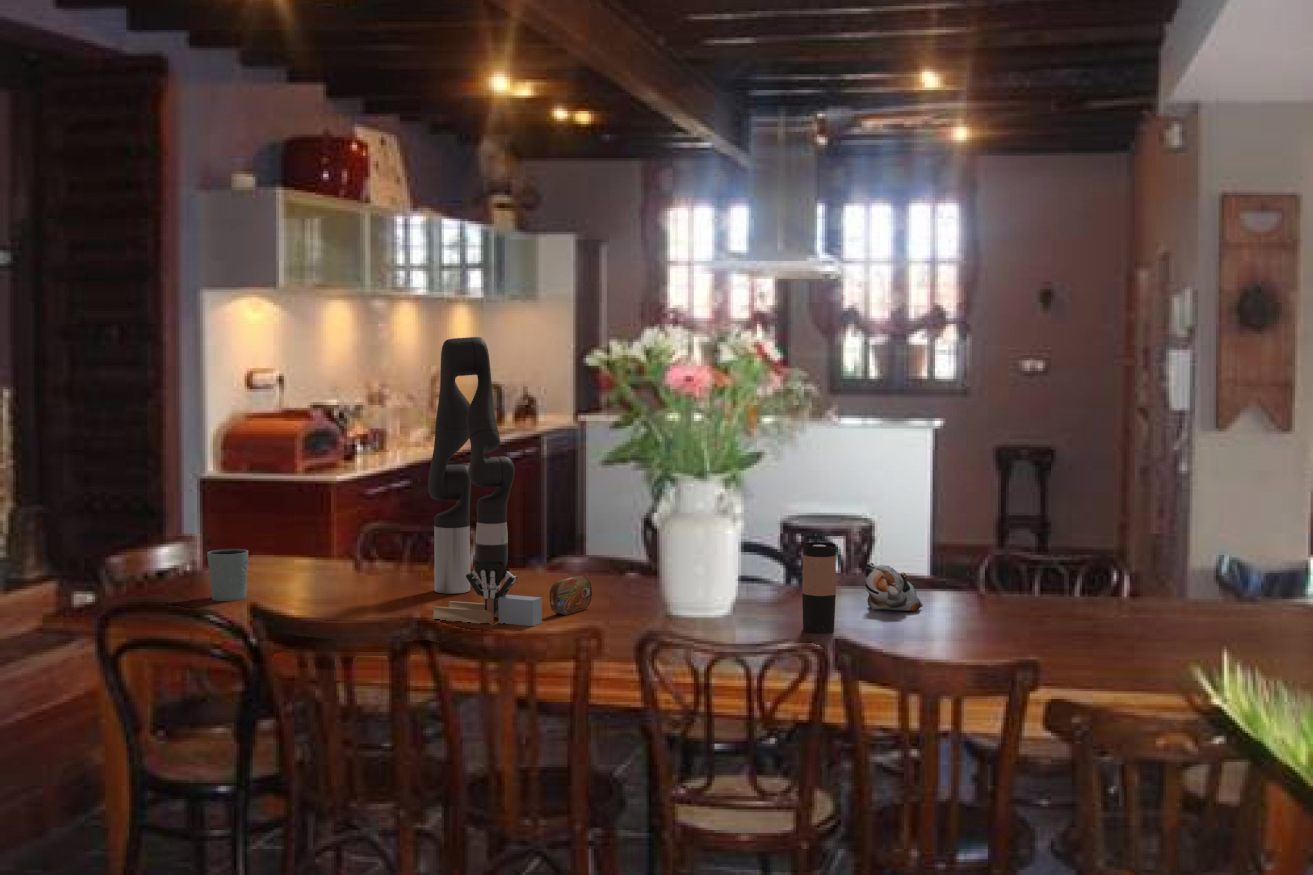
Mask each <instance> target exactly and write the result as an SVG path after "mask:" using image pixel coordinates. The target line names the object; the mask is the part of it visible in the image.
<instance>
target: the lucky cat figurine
mask: <svg viewBox="0 0 1313 875" xmlns="http://www.w3.org/2000/svg"><path fill="white" fill-rule="evenodd" d="M865 566H866V568H865V581H864V582H865V585H864V587H865V590H866V592H867V593H868V596H867V599H866V600H867V605H868V607H869V608H870V609H871V610H873V611H879V610H887V611H904V612H912V613H915V612H918V611H919V609H920V608H922V607H924V606H923V605H924V604H923V603H922V601H921V599H920V598H919V597H918V595H917V592H916V589H915V587H914V585H913V584H912V583H910V582H909V581H907V578H908V577H907V576H908V575H907V574H906V573H905V572H901V573H899V572H898V571H897V570H896V569H894V567H891V566H890V565H885V564H884V565H883V564H882V565H881V564H880V565H879V564H878V565H875V564H874V563H873V562H868V563H866V564H865Z"/></svg>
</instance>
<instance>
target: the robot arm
mask: <svg viewBox="0 0 1313 875" xmlns="http://www.w3.org/2000/svg"><path fill="white" fill-rule="evenodd" d="M490 361H491V360H490V354H489V349H488V346H487V342H486V341H485V339H484V338H482V337H480V336H471V337H470V336H469V337H456V338H449V339H446V340H444V342H443V344H442V346H441V352H440V378H439V379H440V380H439V386H440V387H439V394H438V404H437V411H436V418H435V428H434V443H433V444H434V445H433V452H432V457H431V462H430V467H429V473H428V480H427V488H428V489H427V490H428V494H429V496H430V498H431V499H433V500H436V501H456V503H455V504H454V505H453V506H452V507H451V508H448V509H447V510H445V511H442V512H440V513H437V514H436V515H435V516H434V518H433V519H434V520H433V523H434V524H433V530H434V531H433V532H434V535H433V536H434V540H433V541H434V546H433V547H434V549H433V550H434V552H433V554H434V593H435V592H436V593H439V594H450V595H451V594H464V593H467V592H468V593H469V592H470V591H471V587H472V588H473V590H474V592H475V593H476V594H477V595H478V596H481V597H483V598H484V603H485V610H487V598H494V614H496V612H497V611H498V605H499V597H501V596H504V595H506V593H509V591H510V590H511V588H512V587H513V586H514V584H515V583H516V582H517V581H518V576H517V575H513V574H512V573H511V572H510V568H509V565H508V559H509V558H508V554H509V550H508V549H509V548H508V544H509V542H508V540H509V538H508V536H509V535H508V534H509V531H508V523H507V522H508V517H507V516H508V502H509V497H510V494H511V493H510V492H511V489H512V485H513V483H514V479H515V472H516V471H515V470H516V469H515V465H514V462H513V460H511V458H510V457H508V456H503V455H502V456H485V454H488V453H492V452H494V451H496V450H497V449H499V447H500V445H501V437H500V433H499V429H498V423H497V420H496V415H495V408H494V397H493V396H494V395H493V382H492V370H491V362H490ZM465 376H477V387H476V390H475V393H474V396H473V398H472V400H471V402H470V401H469V400H468V399H467V398H466V396H465V395H464V394H463V393H462V391H461V390H460V388H459V387H458V384H457V382H456V378H458V377H465ZM468 440H469V442H470V460H469V461H470V462H469V466H468V465H467V464H448V463H449V461H450V460H451V458H453V457H454V456H455V454H457V453H458V452H459V451H460V450H461V449H462V448H463V446H464V445H466V443H467V442H468ZM471 484H473V485H474V486H475V487H478V488H484V487H485V488H491V487H493V488H494V487H495V489H494V491H493V492H492V493H491V494H489V495H486V496H485V495H484V496H483V497H479V499H478V500H477V503H476V528H475V537H474V538H475V561H476V562H475V565H474V568H473V570H472V571H471V537H470V536H471V533H470V532H471V527H470V526H471V522H470V521H471V520H470V519H471V517H470V516H471V507H470V506H471V490H472V485H471ZM503 581H505V582H504V583H503ZM502 583H503V585H502Z"/></svg>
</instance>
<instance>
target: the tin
mask: <svg viewBox="0 0 1313 875" xmlns="http://www.w3.org/2000/svg"><path fill="white" fill-rule="evenodd" d="M592 588H593V587H592V584H591V581H590V579H589V578H588V577H586V576H583V575H581V576H576V575H575V576H571V577H568V578H565V579H560V580H557V581H555V582H554V583H553V584H552V585H551V587H550V590H549V606H550V608H551V611H552V612H553V613H554V614H556V615H563V616H568V615H571V614H574V613H578V612H581V611H585V610H586V609H588V608H589V606H590V605H591V604H590V603H591V601H592V598H593V589H592Z"/></svg>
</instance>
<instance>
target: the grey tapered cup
mask: <svg viewBox="0 0 1313 875" xmlns="http://www.w3.org/2000/svg"><path fill="white" fill-rule="evenodd" d="M206 556H207V557H206V558H207V564H208V569H209V570H208V571H209V580H210V593H211V599H212V600H213V601H216V602H234V601H235V602H236V601H242V600H245V599H247V597H248V595H247V594H248V585H247V584H248V581H247V580H248V563H249V550H248V549H241V548H229V549H228V548H227V549H225V548H224V549H215V550H209V551H207V552H206Z"/></svg>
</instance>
